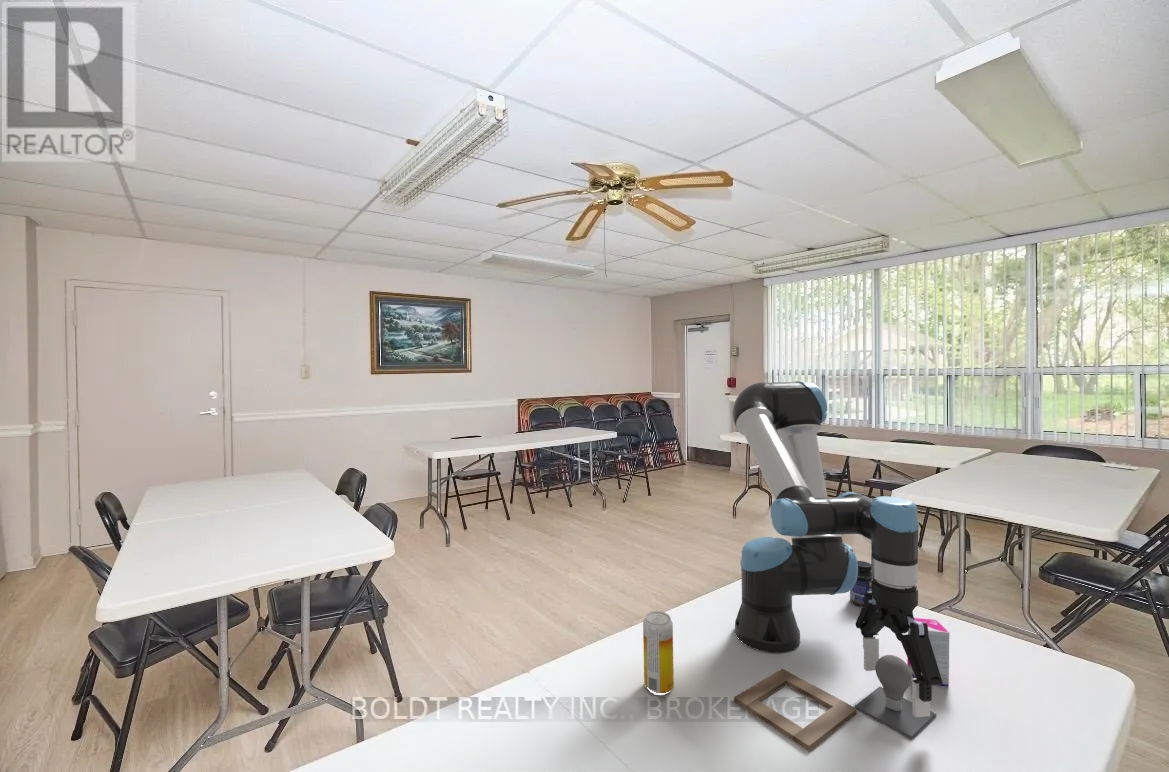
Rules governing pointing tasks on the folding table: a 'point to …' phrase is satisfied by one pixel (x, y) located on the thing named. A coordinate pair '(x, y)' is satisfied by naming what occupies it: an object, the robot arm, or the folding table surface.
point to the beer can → (658, 652)
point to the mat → (893, 714)
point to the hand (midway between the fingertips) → (894, 691)
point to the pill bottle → (861, 583)
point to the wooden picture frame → (802, 736)
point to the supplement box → (937, 648)
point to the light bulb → (893, 679)
